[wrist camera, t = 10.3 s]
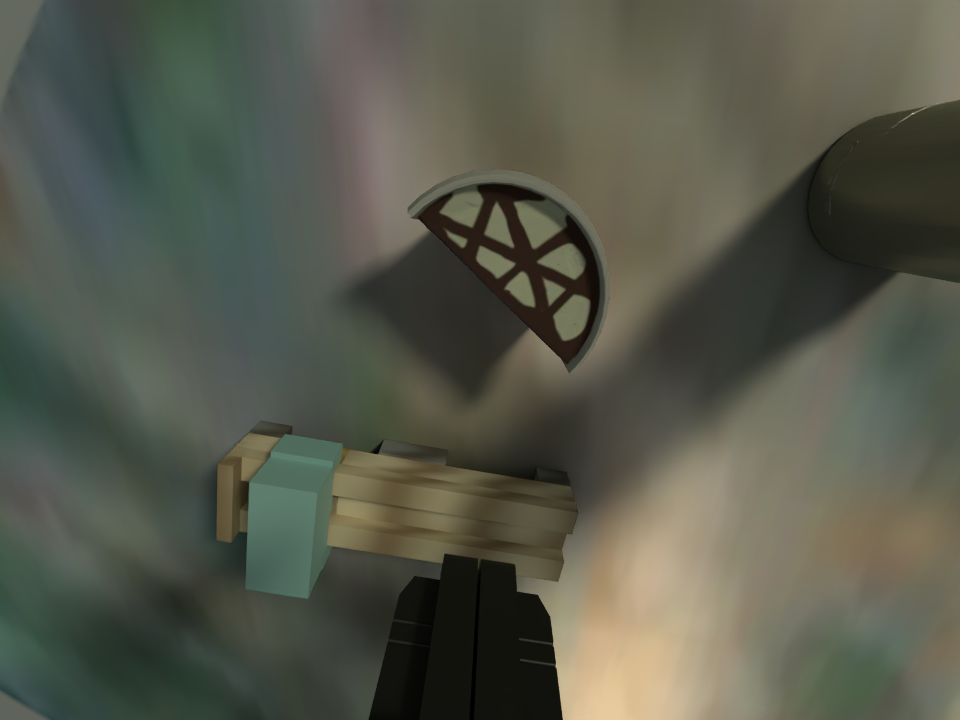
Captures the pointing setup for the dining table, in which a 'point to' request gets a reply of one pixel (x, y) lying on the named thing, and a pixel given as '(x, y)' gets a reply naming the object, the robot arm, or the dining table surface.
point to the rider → (291, 516)
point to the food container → (526, 252)
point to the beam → (419, 505)
